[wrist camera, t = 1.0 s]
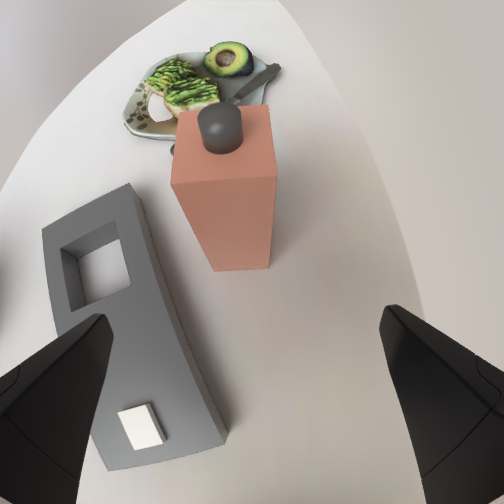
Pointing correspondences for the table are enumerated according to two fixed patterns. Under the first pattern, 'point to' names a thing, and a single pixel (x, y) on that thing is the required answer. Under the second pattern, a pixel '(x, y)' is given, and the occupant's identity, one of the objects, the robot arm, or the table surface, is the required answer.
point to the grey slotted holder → (132, 339)
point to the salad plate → (197, 86)
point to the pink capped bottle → (227, 182)
